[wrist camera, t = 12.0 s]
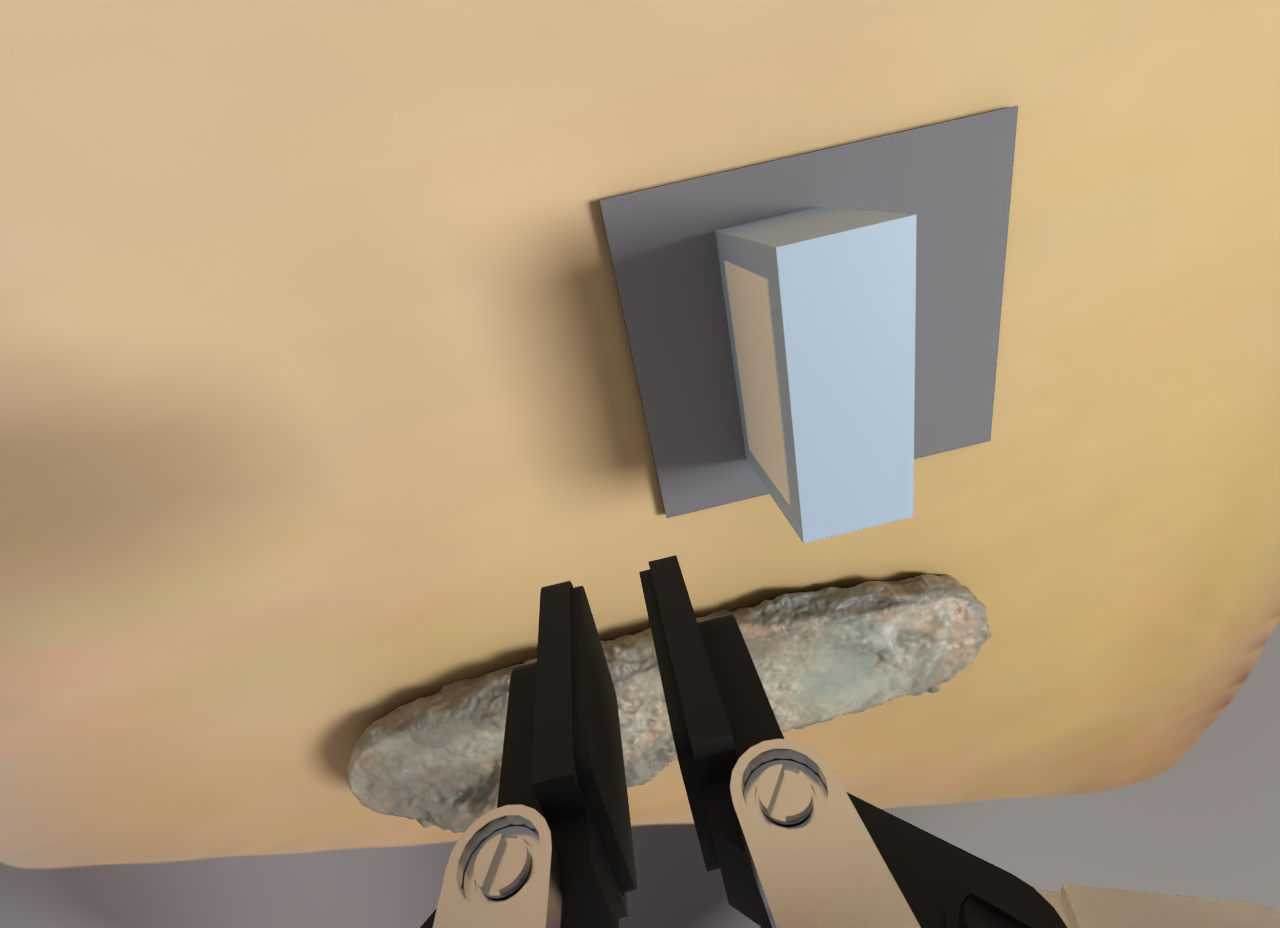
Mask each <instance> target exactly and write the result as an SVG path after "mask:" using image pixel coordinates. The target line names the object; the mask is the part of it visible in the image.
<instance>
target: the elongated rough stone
mask: <svg viewBox="0 0 1280 928" xmlns="http://www.w3.org/2000/svg"><path fill="white" fill-rule="evenodd" d="M985 611H986V607H985V605H984V604H983V603H982V602H980V601H979V600H978V599H977V598H976V597H975V596H974V595H973V594H972V593H971V591H970V590H969V589H968V588H967V587H965V586H962V585H961V584H960V583H959V582H958V581H957V579H955V578H953V577H951V576H950V575H947V574H943V575H939V576H936V575H933V574H924V575H920V576H916V577H914V578H907V579H903V580H900V581H892V582H889V581H868V582H864V583H862V584H859V585H856V586H854V587H850V588H837V587H829V588H824V589H821V590H818V591H815V592H813V591H810V592H803V593H801V592H798V593H791V594H783V595H781V596H777V597H776V598H775V599H774V600H764V601H763V602H762V603H761V604H759V605H758V606H755V607H752V608H750V607H746V608H739V609H736V610H735V611H731V612H730V611H728V610H725V609H723V610H720V611H718V612H713V613H710V614H709V615H707V616H704V617H696V621H697V623H699V622H703V621H707V620H711V619H715V618H719V617H724V616H728V615H732V614H733V615H734V617H735V619H736V621H737V623H738V626H739V628H740V631H741V633H742V636H743V638H744V641H745V643H746V646H747V648H748V650H749V653H750V655H751V658H752V660H753V663H754V665H755V668H756V670H757V673H758V675H759V678H760V680H761V683H762V685H763V688H764V690H765V693H766V695H767V697H768V700H769V702H770V705H771V707H772V710H773V712H774V715H775V717H776V720H777V722H778V725H779V727H780V730H781V732H785V731H788V730H791V729H803V728H805V727H807V726H808V725H812V724H816V723H821V722H826V721H830V720H832V719H833V718H835V717H837V716H839V715H846V714H850V713H857V712H863V711H865V710H866V709H869V708H873V707H874V706H878V705H882V704H884V703H885V702H887V701H891V700H893V699H895V698H900V697H903V696H905V695H913V696H917V695H921V694H923V693H924V692H930V693H935V692H938V691H939V689H940V685H941V683H942V682H947V681H949V680H950V679H951V678H953V677H955V676H956V675H957V674H958V673H959V672H960V671H962V670H964V669H965V668H966V667H967V666H969V665H970V664H972V663H973V662H974V660H975V659H976V656H977V654H978V652H979V649H980V648H981V646H982V645H983V644H984V642H985V641H986V640H988V639H989V638H990V637H991V633H990V631H989V627H988V625H987V618H986V614H985ZM600 642H601V645H602V648H603V651H604V655H605V658H606V661H607V664H608V668H609V671H610V674H611V677H612V681H613V684H614V688H615V692H616V697H617V703H618V712H619V721H620V730H621V740H622V749H623V758H624V767H625V777H626V786H627V787H632V786H636V785H643V784H645V783H646V782H648V781H650V780H651V779H652V778H654V777H655V776H656V774H657V772H658V771H661V770H663V769H664V768H665V767H666V766H668V765H669V762H672V761H673V760H676V759H678V757H677V753H676V749H675V744H674V740H673V735H672V731H671V726H670V721H669V716H668V711H667V706H666V701H665V696H664V691H663V686H662V681H661V676H660V672H659V667H658V662H657V657H656V652H655V647H654V642H653V637H652V632H651V628H649V629H646V630H643V631H642V632H638V633H636V634H635V635H624V636H623V637H618V638H617V639H615V640H613V641H612V640H607V641H603V640H600ZM535 662H537V658H535V659H529V660H527V661H526V662H525V663H524V664H517V665H513V666H510V667H506V668H503V669H500V670H497V671H494V672H490V673H486V674H485V675H483V676H480V677H477V678H471V679H462V680H457V681H455V682H453V683H451V684H445V685H444V686H443V687H442V689H441V691H440V692H438V693H436V694H434V695H431V696H428V697H420V698H418V699H417V700H415V701H412V702H410V703H408V704H405V705H401V706H399V707H398V708H397V709H395V710H393V711H392V712H390V713H389V714H388V715H386V716H384V717H382V718H381V719H378V720H376V721H374V722H373V723H372V724H371V725H369V726H367V727H366V729H365V731H364V733H363V734H362V735H361V736H360V737H359V738H358V740H357V741H356V742H355V744H354V746H353V749H352V753H351V756H350V760H349V764H348V769H347V779H348V783H349V787H350V790H351V791H352V793H353V794H354V795H355V796H356V797H357V798H358V800H359V801H360V803H361V804H362V805H363V806H365V807H367V808H369V809H371V810H373V811H375V812H378V813H382V814H385V815H394V816H400V817H406V818H410V819H412V820H414V819H416V820H417V821H418V822H419V823H420V824H421V825H422V826H423V827H424V828H427V827H430V826H431V825H436V826H438V827H440V828H442V829H443V830H447V829H449V830H451V831H452V832H454V833H458V832H465V831H466V830H467V829H468V828H469V827H470V826H471V825H472V824H473V823H474V822H475V821H476V820H477V819H479V818H480V817H482V816H483V815H485V814H486V813H488V812H490V811H491V810H494V809H497V801H498V791H499V782H500V772H501V763H502V753H503V744H504V734H505V725H506V715H507V705H508V696H509V686H510V678H511V672H512V670H513V668H514V667H518V666H522V665H526V664H531V663H535Z"/></svg>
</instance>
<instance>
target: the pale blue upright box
mask: <svg viewBox="0 0 1280 928" xmlns="http://www.w3.org/2000/svg"><path fill="white" fill-rule="evenodd" d="M916 221H917V214H904V213H890V212H877V211H863V210H850V209H837V208H823V207H814V208H809V209H805V210H801V211H797V212H792V213H788V214H784V215H780V216H775V217H771V218H767V219H763V220H758V221H754V222H750V223H745V224H741V225H737V226H733V227H728V228H724V229H720V230H716V231H715V233H716V241H717V248H718V255H719V263H720V270H721V277H722V285H723V292H724V299H725V307H726V314H727V321H728V328H729V336H730V343H731V350H732V358H733V365H734V372H735V380H736V387H737V394H738V402H739V409H740V416H741V424H742V431H743V438H744V445H745V453H746V460H747V461H748V463H749V464H750V465H751V467H752V468H753V470H754V471H755V473H756V474H757V476H758V477H759V479H760V480H761V482H762V483H763V485H764V486H765V488H766V489H767V490H768V492H769V493H770V495H771V496H772V498H773V499H774V501H775V502H776V504H777V505H778V507H779V508H780V510H781V511H782V512H783V514H784V515H785V517H786V518H787V520H788V521H789V523H790V524H791V526H792V527H793V529H794V530H795V532H796V533H797V535H798V536H799V537H800V539H801V540H802V542H803V543H808V542H812V541H816V540H820V539H824V538H828V537H832V536H836V535H840V534H844V533H848V532H852V531H857V530H861V529H865V528H869V527H873V526H877V525H881V524H885V523H889V522H893V521H897V520H901V519H905V518H909V517H913V493H914V402H915V312H916Z"/></svg>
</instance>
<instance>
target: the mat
mask: <svg viewBox="0 0 1280 928" xmlns="http://www.w3.org/2000/svg"><path fill="white" fill-rule="evenodd" d="M1017 113H1018V106H1014V107H1009V108H1004V109H1000V110H996V111H991V112H987V113H982V114H978V115H973V116H969V117H965V118H960V119H956V120H951V121H947V122H942V123H938V124H934V125H929V126H925V127H920V128H916V129H912V130H907V131H903V132H898V133H894V134H889V135H885V136H881V137H876V138H872V139H867V140H863V141H858V142H854V143H850V144H845V145H841V146H836V147H832V148H827V149H823V150H819V151H814V152H810V153H805V154H801V155H796V156H792V157H788V158H783V159H779V160H774V161H770V162H765V163H761V164H757V165H752V166H748V167H743V168H739V169H735V170H730V171H726V172H721V173H717V174H712V175H708V176H704V177H699V178H695V179H690V180H686V181H681V182H677V183H673V184H668V185H664V186H659V187H655V188H650V189H646V190H642V191H637V192H633V193H628V194H624V195H619V196H615V197H611V198H606V199H602V200H599V203H600V208H601V212H602V217H603V222H604V226H605V231H606V236H607V241H608V245H609V250H610V255H611V259H612V264H613V269H614V274H615V278H616V283H617V288H618V292H619V297H620V302H621V307H622V311H623V316H624V321H625V325H626V330H627V335H628V340H629V344H630V349H631V354H632V358H633V363H634V368H635V373H636V377H637V382H638V387H639V391H640V396H641V401H642V406H643V410H644V415H645V420H646V424H647V429H648V434H649V439H650V443H651V448H652V453H653V457H654V462H655V467H656V472H657V476H658V481H659V486H660V491H661V495H662V500H663V505H664V509H665V514H666V517H667V518H670V517H674V516H678V515H682V514H686V513H691V512H695V511H699V510H703V509H707V508H711V507H716V506H720V505H724V504H728V503H732V502H737V501H741V500H745V499H749V498H753V497H757V496H762V495H766V494H770V493H769V492H768V490H767V489H766V488H765V486H764V485H763V483H762V482H761V480H760V479H759V477H758V476H757V474H756V473H755V471H754V470H753V468H752V467H751V465H750V464H749V463H748V461H747V460H746V453H745V445H744V438H743V431H742V424H741V416H740V409H739V402H738V394H737V387H736V380H735V372H734V365H733V358H732V350H731V343H730V336H729V328H728V321H727V314H726V307H725V299H724V292H723V285H722V277H721V270H720V263H719V255H718V248H717V241H716V233H715V231H716V230H720V229H724V228H728V227H733V226H737V225H741V224H745V223H750V222H754V221H758V220H763V219H767V218H771V217H775V216H780V215H784V214H788V213H792V212H797V211H801V210H805V209H809V208H814V207H823V208H837V209H850V210H863V211H877V212H890V213H904V214H917V221H916V312H915V402H914V459H916V458H921V457H925V456H929V455H933V454H937V453H941V452H946V451H950V450H954V449H958V448H962V447H967V446H971V445H975V444H979V443H983V442H987V441H990V439H991V427H992V415H993V403H994V391H995V379H996V367H997V354H998V342H999V330H1000V318H1001V306H1002V294H1003V282H1004V270H1005V258H1006V246H1007V234H1008V222H1009V210H1010V198H1011V186H1012V174H1013V162H1014V150H1015V138H1016V126H1017Z"/></svg>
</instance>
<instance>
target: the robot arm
mask: <svg viewBox="0 0 1280 928" xmlns="http://www.w3.org/2000/svg"><path fill="white" fill-rule="evenodd" d="M649 566H650V570H646V571H642V572H640V578H641V583H642V588H643V593H644V597H645V602H646V607H647V612H648V617H649V622H650V627H651V632H652V637H653V642H654V647H655V652H656V657H657V662H658V667H659V672H660V676H661V681H662V686H663V691H664V696H665V701H666V706H667V711H668V716H669V721H670V726H671V731H672V735H673V740H674V744H675V749H676V753H677V757H678V761H679V765H680V769H681V773H682V777H683V781H684V784H685V788H686V792H687V796H688V800H689V804H690V808H691V811H692V815H693V819H694V823H695V827H696V831H697V834H698V838H699V842H700V846H701V850H702V854H703V858H704V861H705V865H706V869H707V871H711V870H715V869H718V868H721V873H722V877H723V881H724V885H725V889H726V893H727V898H728V902H729V904H730V905H731V906H733V907H734V908H736V909H737V910H738V911H740V912H741V913H743V914H744V915H745V916H747V917H748V918H750V919H751V920H752V921H754V922H755V923H757V924H758V928H1280V913H1278V912H1277V911H1274V910H1273V909H1270V908H1266V907H1262V906H1258V905H1254V904H1250V903H1246V902H1242V901H1232V900H1221V899H1211V898H1200V897H1190V896H1180V895H1170V894H1159V893H1149V892H1139V891H1127V890H1117V889H1107V888H1097V887H1087V886H1076V885H1066V884H1063V885H1062V889H1061V892H1057V891H1048V890H1037V889H1034V888H1033V887H1032V886H1030V885H1028V884H1027V883H1025V882H1024V881H1022V880H1020V879H1019V878H1017V877H1016V876H1014V875H1013V874H1011V873H1009V872H1007V871H1005V870H1003V869H1001V868H999V867H997V866H994V865H993V864H991V863H988V862H986V861H984V860H982V859H980V858H978V857H976V856H974V855H972V854H970V853H968V852H966V851H964V850H962V849H960V848H958V847H956V846H954V845H952V844H950V843H948V842H946V841H944V840H942V839H940V838H938V837H936V836H934V835H932V834H930V833H928V832H926V831H924V830H922V829H920V828H918V827H916V826H913V825H912V824H910V823H908V822H906V821H904V820H901V819H900V818H897V817H895V816H893V815H891V814H889V813H887V812H885V811H883V810H881V809H879V808H877V807H875V806H873V805H871V804H869V803H867V802H865V801H863V800H861V799H859V798H857V797H855V796H853V795H851V794H849V793H847V792H846V791H845V789H844V787H843V785H842V784H841V782H840V780H839V778H838V776H837V775H836V773H835V771H834V769H833V768H832V767H831V765H830V764H829V763H828V761H827V760H826V759H825V758H824V756H822V755H821V754H820V753H818V752H817V751H816V750H814V749H813V748H812V747H810V746H808V745H805V744H803V743H800V742H798V741H795V740H787V739H784V737H783V735H782V732H781V730H780V727H779V725H778V722H777V720H776V717H775V715H774V712H773V710H772V707H771V705H770V702H769V700H768V697H767V695H766V693H765V690H764V688H763V685H762V683H761V680H760V678H759V675H758V673H757V670H756V668H755V665H754V663H753V660H752V658H751V655H750V653H749V650H748V648H747V646H746V643H745V641H744V638H743V636H742V633H741V631H740V628H739V626H738V623H737V621H736V619H735V617H734V615H733V614H732V615H728V616H724V617H719V618H715V619H711V620H707V621H703V622H699V623H697V621H696V617H695V614H694V611H693V608H692V605H691V601H690V598H689V595H688V592H687V589H686V585H685V582H684V579H683V576H682V573H681V569H680V566H679V563H678V560H677V557H676V555H675V556H671V557H667V558H663V559H659V560H654V561H650V562H649ZM636 889H637V879H636V870H635V859H634V851H633V841H632V833H631V823H630V813H629V804H628V795H627V786H626V777H625V767H624V758H623V749H622V740H621V730H620V721H619V712H618V703H617V697H616V692H615V688H614V684H613V681H612V677H611V674H610V671H609V668H608V664H607V661H606V658H605V655H604V651H603V648H602V645H601V642H600V639H599V635H598V632H597V629H596V626H595V622H594V619H593V616H592V613H591V609H590V606H589V603H588V600H587V596H586V593H585V590H584V588H583V586H579V587H575V588H573V585H572V583H571V582H570V581H567V582H563V583H559V584H555V585H551V586H546V587H542V588H541V595H540V614H539V633H538V652H537V662H535V663H531V664H526V665H522V666H518V667H514V668H513V670H512V672H511V678H510V686H509V696H508V705H507V715H506V725H505V734H504V744H503V753H502V763H501V772H500V782H499V791H498V801H497V809H494V810H491V811H490V812H488V813H486V814H485V815H483V816H482V817H480V818H479V819H477V820H476V821H475V822H474V823H473V824H472V825H471V826H470V827H469V828H468V829H467V830H466V831H465V832H464V833H463V834H462V836H461V838H460V839H459V841H458V842H457V844H456V845H455V847H454V848H453V851H452V853H451V856H450V859H449V862H448V864H447V867H446V872H445V876H444V880H443V885H442V889H441V893H440V897H439V902H438V906H437V909H436V910H435V911H434V912H433V914H432V915H431V916H430V917H429V918H428V919H427V921H426V922H425V923H424V924H423V925H422V926H421V927H420V928H619V920H618V919H619V918H622V917H627V916H628V912H627V901H626V892H628V891H632V890H636Z"/></svg>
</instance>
